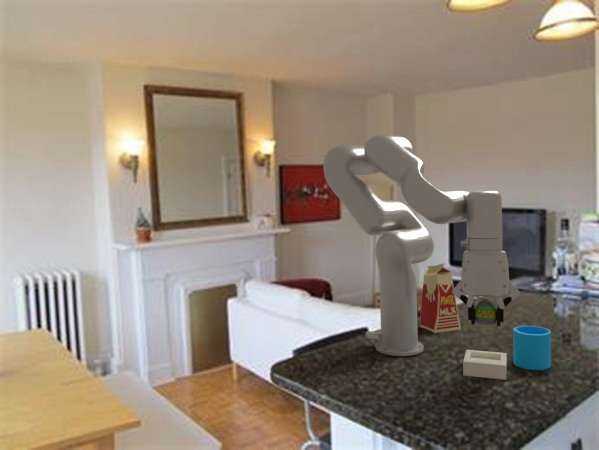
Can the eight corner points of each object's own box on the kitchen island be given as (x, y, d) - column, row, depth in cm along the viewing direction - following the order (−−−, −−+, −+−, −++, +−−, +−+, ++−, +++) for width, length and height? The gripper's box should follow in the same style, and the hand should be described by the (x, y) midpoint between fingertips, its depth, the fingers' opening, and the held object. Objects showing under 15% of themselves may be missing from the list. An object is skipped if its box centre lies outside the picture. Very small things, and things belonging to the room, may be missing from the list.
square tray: (463, 375, 117) (463, 361, 117) (466, 362, 126) (466, 349, 125) (506, 379, 114) (506, 365, 114) (506, 366, 122) (506, 353, 122)
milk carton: (461, 329, 154) (460, 262, 153) (435, 333, 151) (434, 265, 149) (442, 322, 163) (441, 259, 161) (417, 326, 159) (416, 261, 158)
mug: (550, 372, 118) (550, 336, 117) (511, 367, 122) (511, 333, 121) (552, 356, 128) (552, 323, 128) (516, 352, 132) (516, 320, 132)
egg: (470, 325, 119) (470, 299, 119) (481, 321, 122) (481, 296, 122) (490, 329, 115) (490, 302, 115) (501, 324, 118) (501, 298, 118)
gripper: (443, 247, 117) (445, 326, 119) (525, 247, 111) (526, 331, 112) (447, 243, 124) (449, 318, 125) (525, 243, 118) (526, 322, 119)
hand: (485, 323), depth 119 cm, fingers closed on egg, 4 cm apart
